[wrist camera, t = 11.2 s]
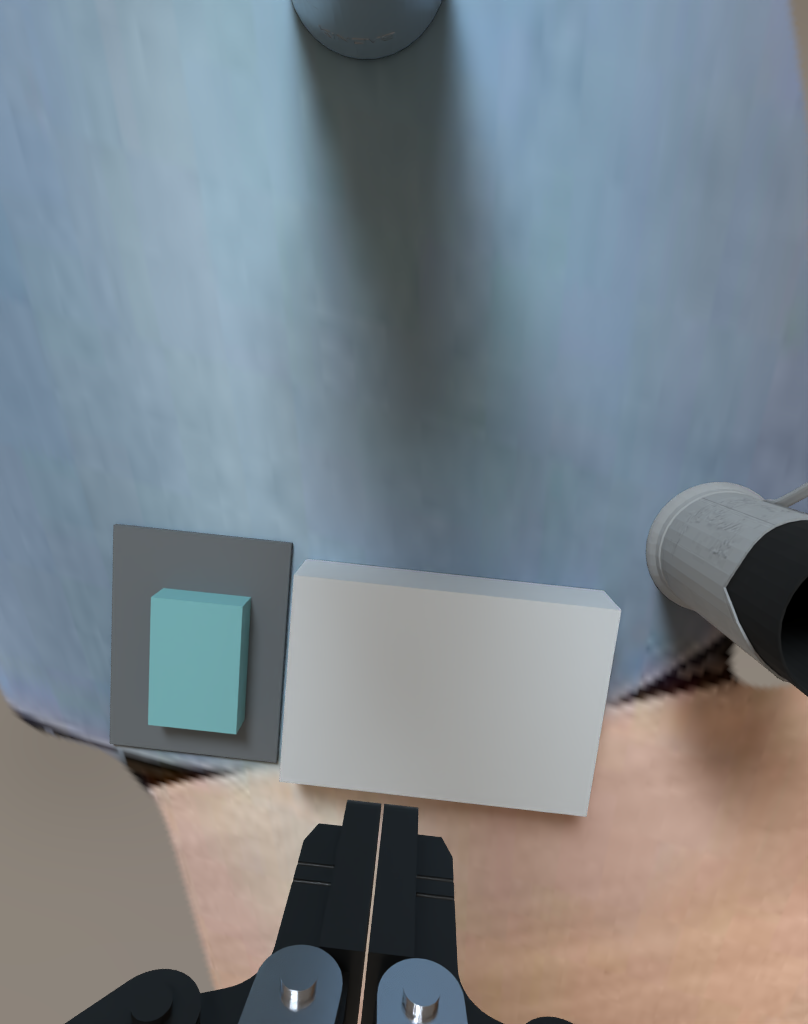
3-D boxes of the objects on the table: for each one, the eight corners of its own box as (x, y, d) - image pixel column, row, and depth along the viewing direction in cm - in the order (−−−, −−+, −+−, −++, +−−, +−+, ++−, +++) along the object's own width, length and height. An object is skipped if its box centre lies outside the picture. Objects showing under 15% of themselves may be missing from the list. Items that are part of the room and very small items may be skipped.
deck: (306, 558, 43) (293, 575, 39) (603, 590, 43) (621, 610, 39) (292, 748, 46) (279, 781, 42) (572, 780, 45) (586, 816, 41)
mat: (116, 524, 43) (113, 525, 43) (292, 542, 43) (291, 544, 42) (112, 740, 46) (109, 743, 46) (277, 759, 46) (276, 762, 45)
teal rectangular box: (242, 606, 41) (251, 597, 43) (150, 597, 41) (163, 588, 43) (236, 734, 43) (244, 719, 45) (147, 724, 43) (160, 710, 45)
